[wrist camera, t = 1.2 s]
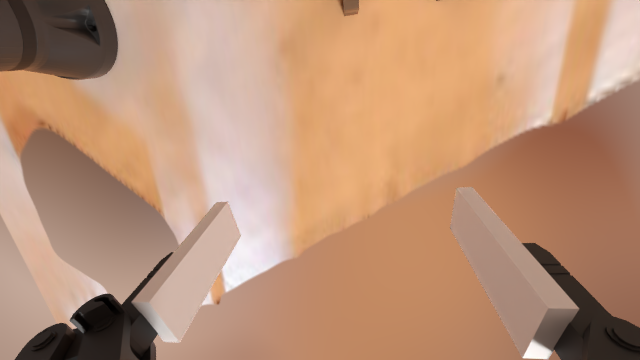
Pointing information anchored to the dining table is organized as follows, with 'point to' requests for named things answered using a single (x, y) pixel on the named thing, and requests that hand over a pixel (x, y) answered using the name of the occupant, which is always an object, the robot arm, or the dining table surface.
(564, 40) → the dining table surface
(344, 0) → the holder
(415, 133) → the dining table surface
